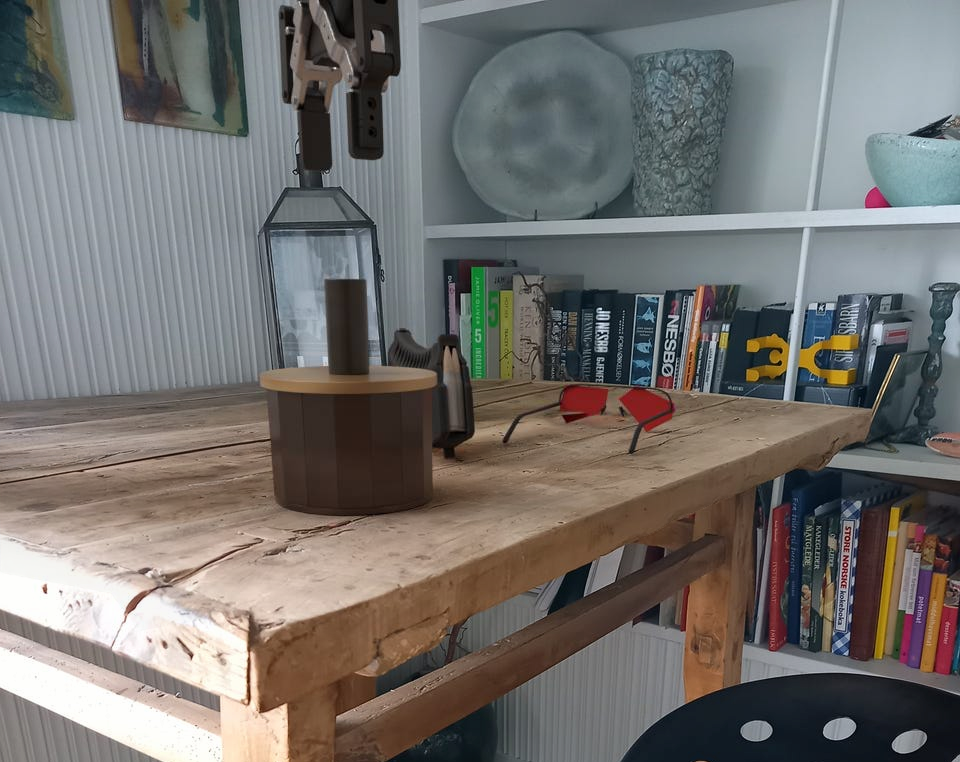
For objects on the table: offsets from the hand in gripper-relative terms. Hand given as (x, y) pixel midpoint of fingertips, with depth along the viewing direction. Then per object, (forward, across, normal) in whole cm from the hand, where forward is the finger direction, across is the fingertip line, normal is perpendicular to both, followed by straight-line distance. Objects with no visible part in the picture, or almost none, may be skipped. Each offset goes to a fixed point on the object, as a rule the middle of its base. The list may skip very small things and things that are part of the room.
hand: (340, 165), depth 64 cm
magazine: (+23, -22, +18) cm, 37 cm away
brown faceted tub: (+23, 0, 0) cm, 23 cm away
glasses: (+23, -14, +34) cm, 44 cm away
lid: (+15, 0, 0) cm, 15 cm away
